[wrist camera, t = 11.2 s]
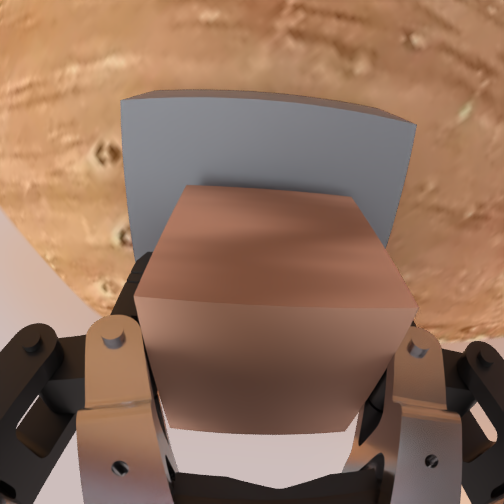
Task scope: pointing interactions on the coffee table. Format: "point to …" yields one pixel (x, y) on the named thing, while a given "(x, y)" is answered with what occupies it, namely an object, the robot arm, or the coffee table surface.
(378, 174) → the slate base
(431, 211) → the coffee table surface
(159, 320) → the terracotta cube
